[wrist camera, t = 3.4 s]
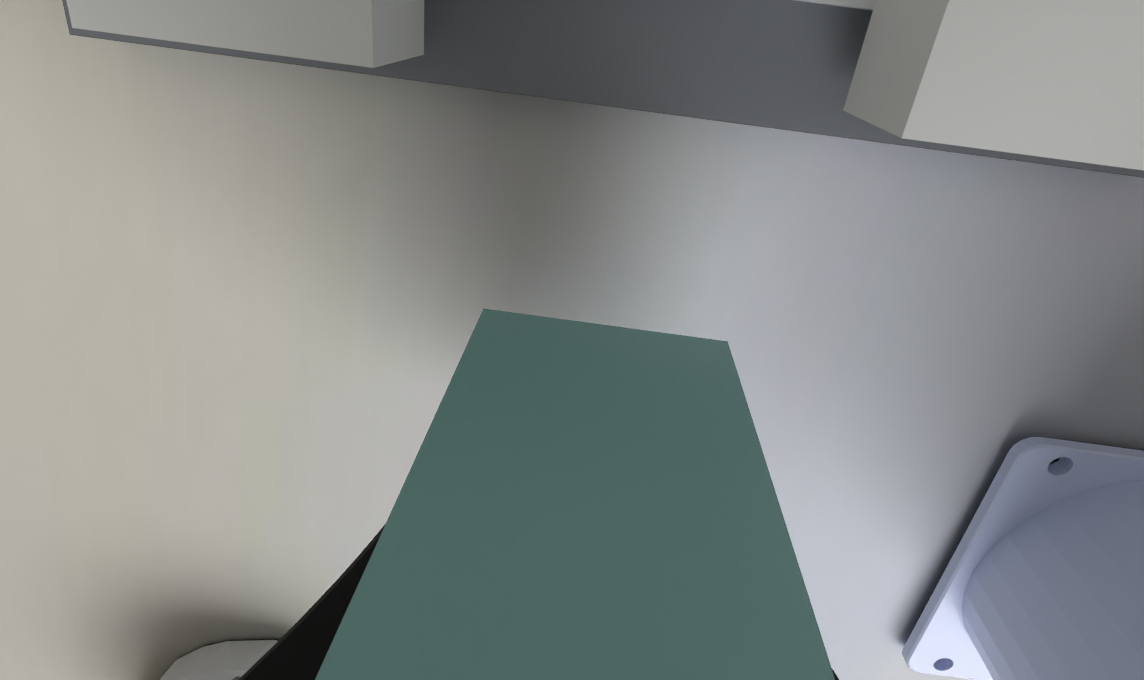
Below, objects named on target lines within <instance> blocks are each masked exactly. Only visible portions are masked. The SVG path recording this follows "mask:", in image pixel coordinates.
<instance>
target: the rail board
mask: <svg viewBox="0 0 1144 680" xmlns="http://www.w3.org/2000/svg"><path fill="white" fill-rule="evenodd" d="M62 1H63V6H64V10H65V15H66V19H67V24H68V28H69V33H70V35H77V36H84V37H92V38H99V39H107V40H114V41H122V42H129V43H137V44H144V45H152V46H159V47H167V48H174V49H182V50H189V51H197V52H204V53H212V54H219V55H227V56H234V57H242V58H249V59H257V60H265V61H272V62H280V63H287V64H295V65H302V66H310V67H317V68H325V69H332V70H340V71H347V72H355V73H362V74H370V75H377V76H385V77H392V78H400V79H407V80H415V81H422V82H430V83H437V84H445V85H452V86H460V87H467V88H475V89H482V90H490V91H497V92H505V93H512V94H520V95H527V96H535V97H543V98H550V99H558V100H565V101H573V102H580V103H588V104H595V105H603V106H610V107H618V108H625V109H633V110H640V111H648V112H655V113H663V114H670V115H678V116H685V117H693V118H700V119H708V120H715V121H723V122H730V123H738V124H745V125H753V126H760V127H768V128H775V129H783V130H790V131H798V132H805V133H813V134H821V135H828V136H836V137H843V138H851V139H858V140H866V141H873V142H881V143H888V144H896V145H903V146H911V147H918V148H926V149H933V150H941V151H948V152H956V153H963V154H971V155H978V156H986V157H993V158H1001V159H1008V160H1016V161H1023V162H1031V163H1038V164H1046V165H1053V166H1061V167H1068V168H1076V169H1083V170H1091V171H1099V172H1106V173H1114V174H1121V175H1129V176H1136V177H1144V0H62Z"/></svg>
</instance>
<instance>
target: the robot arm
mask: <svg viewBox="0 0 1144 680" xmlns="http://www.w3.org/2000/svg"><path fill="white" fill-rule="evenodd" d="M1060 457H1061V458H1060ZM1057 458H1060V459H1059V460H1058V461H1057V462H1055V463H1053V464H1050V463H1051V462H1052V461H1053V460H1055V459H1057ZM385 525H386V524H385ZM385 525H384V526H383V528H382V529H381V530H380V531H379V532H378V534H377V535H376V536H375V537H374V538H373V540H372V541H371V542H370V543H369V544H368V546H367V547H366V548H365V549H364V550H363V551H362V553H361V554H360V555H359V556H358V557H357V558H356V559H355V561H354V562H353V563H352V564H351V565H350V566H349V567H348V568H347V570H346V571H345V572H344V573H343V574H342V575H341V576H340V577H339V579H338V580H337V581H336V582H335V583H334V584H333V585H332V586H331V587H330V588H329V589H328V590H327V591H326V592H325V593H324V595H323V596H322V597H321V598H320V599H319V600H318V601H317V602H316V603H315V604H314V605H313V606H312V607H311V608H310V609H309V610H308V611H307V613H306V614H305V615H304V616H303V617H302V618H301V619H300V620H299V621H298V622H297V623H296V624H295V625H294V626H293V627H292V628H291V629H290V630H289V631H288V632H287V633H286V634H285V635H284V636H283V637H282V638H281V639H280V640H279V641H278V642H277V643H276V644H275V645H274V646H273V647H272V648H271V649H270V650H268V651H267V652H266V653H265V654H264V655H263V656H262V657H261V658H260V659H259V660H258V661H257V662H256V663H255V664H254V665H253V666H252V667H251V668H250V669H249V670H248V671H247V672H246V673H245V674H244V675H243V676H242V677H240V678H239V679H238V680H315V679H316V676H317V674H318V672H319V670H320V668H321V665H322V663H323V661H324V659H325V657H326V654H327V652H328V650H329V648H330V646H331V643H332V641H333V639H334V637H335V635H336V632H337V630H338V628H339V626H340V624H341V621H342V619H343V617H344V615H345V613H346V610H347V608H348V606H349V604H350V602H351V599H352V597H353V595H354V593H355V591H356V588H357V586H358V584H359V582H360V580H361V577H362V575H363V573H364V571H365V569H366V566H367V564H368V562H369V560H370V558H371V555H372V553H373V551H374V549H375V547H376V544H377V542H378V540H379V538H380V536H381V533H382V531H383V529H384V527H385ZM902 655H903V657H904V659H905V662H906V664H907V666H908V667H909V668H910V669H911V670H913V671H916V672H920V673H928V674H935V675H942V676H950V677H957V678H965V679H972V680H1144V451H1142V450H1134V449H1127V448H1119V447H1112V446H1105V445H1097V444H1090V443H1082V442H1075V441H1067V440H1060V439H1052V438H1045V437H1029V438H1026V439H1023V440H1021V441H1019V442H1017V443H1016V444H1014V445H1013V447H1012V448H1011V449H1010V450H1009V452H1008V454H1007V455H1006V457H1005V459H1004V461H1003V463H1002V465H1001V467H1000V468H999V470H998V472H997V474H996V476H995V478H994V480H993V482H992V483H991V485H990V487H989V489H988V491H987V493H986V495H985V496H984V498H983V500H982V502H981V504H980V506H979V508H978V510H977V511H976V513H975V515H974V517H973V519H972V521H971V523H970V524H969V526H968V528H967V530H966V532H965V534H964V536H963V538H962V539H961V541H960V543H959V545H958V547H957V549H956V551H955V552H954V554H953V556H952V558H951V560H950V562H949V564H948V566H947V567H946V569H945V571H944V573H943V575H942V577H941V579H940V580H939V582H938V584H937V586H936V588H935V590H934V592H933V594H932V595H931V597H930V599H929V601H928V603H927V605H926V607H925V608H924V610H923V612H922V614H921V616H920V618H919V620H918V622H917V623H916V625H915V627H914V629H913V631H912V633H911V635H910V636H909V638H908V640H907V642H906V644H905V646H904V648H903V651H902ZM831 669H832V668H831ZM832 672H833V675H834V678H835V680H839V679H838V677H837V676H836V674H835V673H834V671H833V670H832Z"/></svg>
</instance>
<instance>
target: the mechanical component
mask: <svg viewBox="0 0 1144 680" xmlns="http://www.w3.org/2000/svg"><path fill="white" fill-rule="evenodd" d="M277 642H278V641H277V640H253V641H226V642H222V643H217V644H213V645H209V646H204V647H201V648H199V649H197V650H195V651H193V652H191V653H189V654H187V655H185V656H183V657H181V658H179V659H177V660H176V661H175V662H174V663H173V664H172V665H171V667H170V668H169V669H168V670H167V671H166V673H165V674H164V675H163V676H162V677H161V678H160V680H238V679H239V678H240V677H242V676H243V675H244V674H245V673H246V672H247V671H248V670H249V669H250V668H251V667H252V666H253V665H254V664H255V663H256V662H257V661H258V660H259V659H260V658H261V657H262V656H263V655H264V654H265V653H266V652H267V651H268V650H270V649H271V648H272V647H273V646H274V645H275V644H276V643H277Z"/></svg>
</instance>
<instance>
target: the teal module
mask: <svg viewBox="0 0 1144 680" xmlns="http://www.w3.org/2000/svg"><path fill="white" fill-rule="evenodd" d="M315 680H835V678H834V675H833V672H832V669H831V665H830V662H829V659H828V656H827V653H826V650H825V647H824V643H823V640H822V637H821V634H820V631H819V628H818V625H817V621H816V618H815V615H814V612H813V609H812V606H811V603H810V599H809V596H808V593H807V590H806V587H805V584H804V581H803V577H802V574H801V571H800V568H799V565H798V562H797V559H796V555H795V552H794V549H793V546H792V543H791V540H790V537H789V533H788V530H787V527H786V524H785V521H784V518H783V515H782V511H781V508H780V505H779V502H778V499H777V496H776V493H775V489H774V486H773V483H772V480H771V477H770V474H769V470H768V467H767V464H766V461H765V458H764V455H763V452H762V448H761V445H760V442H759V439H758V436H757V433H756V430H755V426H754V423H753V420H752V417H751V414H750V411H749V408H748V404H747V401H746V398H745V395H744V392H743V389H742V386H741V382H740V379H739V376H738V373H737V370H736V367H735V364H734V360H733V357H732V354H731V351H730V348H729V345H728V342H727V341H720V340H712V339H705V338H697V337H690V336H682V335H675V334H668V333H660V332H653V331H645V330H638V329H630V328H623V327H615V326H608V325H601V324H593V323H586V322H578V321H571V320H563V319H556V318H548V317H541V316H533V315H526V314H519V313H511V312H504V311H496V310H489V309H483V311H482V313H481V315H480V318H479V320H478V322H477V324H476V326H475V329H474V331H473V333H472V335H471V337H470V340H469V342H468V344H467V346H466V348H465V351H464V353H463V355H462V357H461V359H460V362H459V364H458V366H457V368H456V370H455V373H454V375H453V377H452V379H451V381H450V384H449V386H448V388H447V390H446V392H445V395H444V397H443V399H442V401H441V403H440V406H439V408H438V410H437V412H436V414H435V417H434V419H433V421H432V423H431V425H430V428H429V430H428V432H427V434H426V436H425V439H424V441H423V443H422V445H421V448H420V450H419V452H418V454H417V456H416V459H415V461H414V463H413V465H412V467H411V470H410V472H409V474H408V476H407V478H406V481H405V483H404V485H403V487H402V489H401V492H400V494H399V496H398V498H397V500H396V503H395V505H394V507H393V509H392V511H391V514H390V516H389V518H388V520H387V522H386V525H385V527H384V529H383V531H382V533H381V536H380V538H379V540H378V542H377V544H376V547H375V549H374V551H373V553H372V555H371V558H370V560H369V562H368V564H367V566H366V569H365V571H364V573H363V575H362V577H361V580H360V582H359V584H358V586H357V588H356V591H355V593H354V595H353V597H352V599H351V602H350V604H349V606H348V608H347V610H346V613H345V615H344V617H343V619H342V621H341V624H340V626H339V628H338V630H337V632H336V635H335V637H334V639H333V641H332V643H331V646H330V648H329V650H328V652H327V654H326V657H325V659H324V661H323V663H322V665H321V668H320V670H319V672H318V674H317V676H316V679H315Z"/></svg>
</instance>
